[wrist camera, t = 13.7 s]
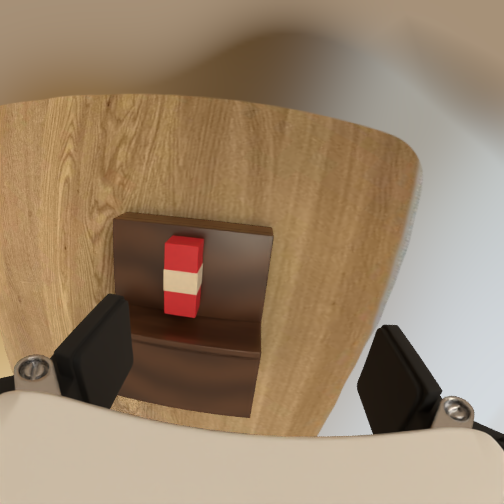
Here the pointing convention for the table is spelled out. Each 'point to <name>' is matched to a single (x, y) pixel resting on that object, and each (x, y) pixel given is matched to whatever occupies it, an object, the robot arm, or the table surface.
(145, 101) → the table surface
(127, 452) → the robot arm
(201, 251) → the rectangular block
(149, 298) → the step rack
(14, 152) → the table surface
